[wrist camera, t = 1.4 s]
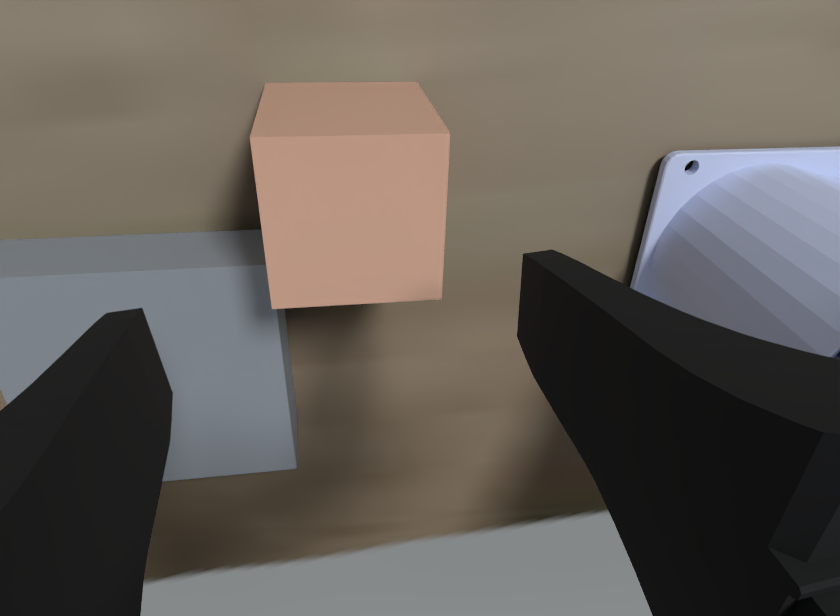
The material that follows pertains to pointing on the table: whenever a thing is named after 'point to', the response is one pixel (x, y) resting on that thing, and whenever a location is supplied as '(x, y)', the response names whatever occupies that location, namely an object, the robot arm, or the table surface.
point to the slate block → (166, 335)
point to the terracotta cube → (350, 192)
